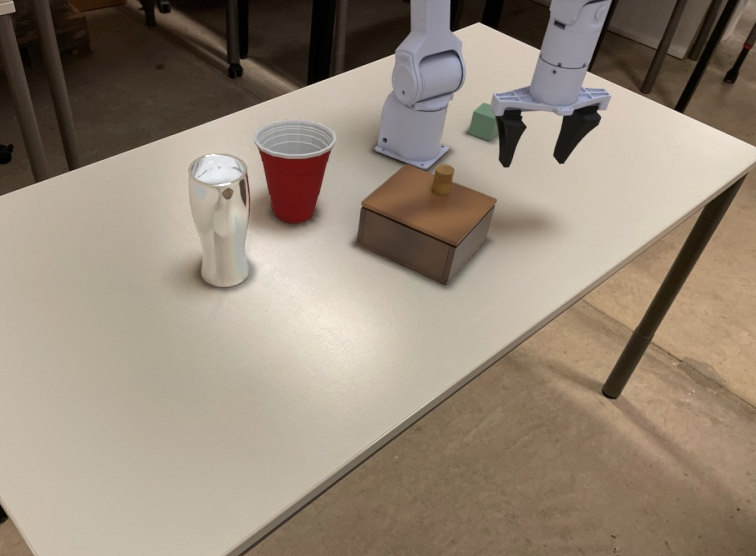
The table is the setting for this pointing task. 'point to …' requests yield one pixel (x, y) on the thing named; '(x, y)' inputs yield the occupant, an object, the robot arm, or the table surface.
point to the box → (419, 244)
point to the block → (483, 123)
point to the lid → (430, 202)
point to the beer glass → (221, 216)
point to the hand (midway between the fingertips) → (531, 161)
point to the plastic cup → (294, 165)
